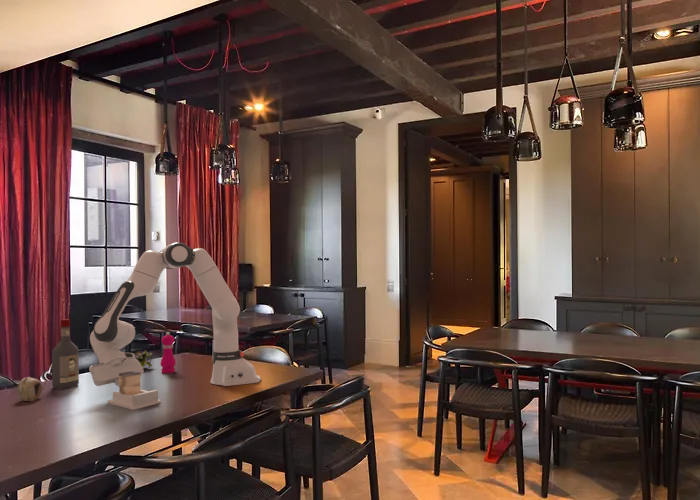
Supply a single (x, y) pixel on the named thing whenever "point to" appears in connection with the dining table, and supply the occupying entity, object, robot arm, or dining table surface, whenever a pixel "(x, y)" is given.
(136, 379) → the light wood tall block
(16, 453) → the dining table surface
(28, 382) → the tan rounded lump
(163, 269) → the robot arm
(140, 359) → the passion flower
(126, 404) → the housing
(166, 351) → the pepper mill
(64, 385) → the liquor
